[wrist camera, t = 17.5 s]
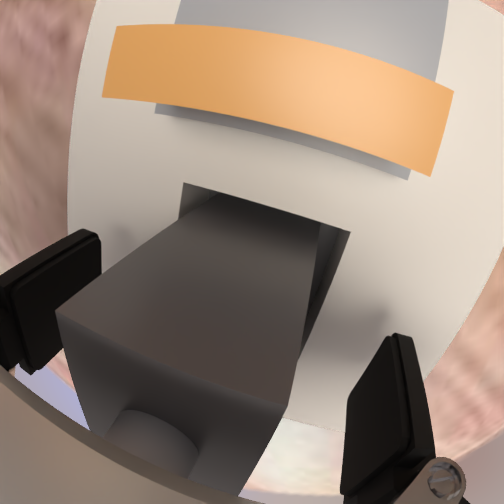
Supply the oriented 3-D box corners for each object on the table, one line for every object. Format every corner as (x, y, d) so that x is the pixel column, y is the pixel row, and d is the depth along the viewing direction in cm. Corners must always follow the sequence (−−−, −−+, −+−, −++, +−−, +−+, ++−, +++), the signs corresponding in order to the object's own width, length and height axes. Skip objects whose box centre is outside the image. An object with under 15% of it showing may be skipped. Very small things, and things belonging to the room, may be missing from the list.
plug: (206, 292, 15) (55, 505, 5) (223, 189, 12) (-42, 395, 2) (289, 318, 14) (204, 577, 4) (321, 216, 12) (242, 566, 2)
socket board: (108, 303, 17) (77, 331, 14) (151, -27, 9) (114, -49, 7) (373, 395, 15) (374, 438, 12) (512, 58, 7) (551, 49, 5)
